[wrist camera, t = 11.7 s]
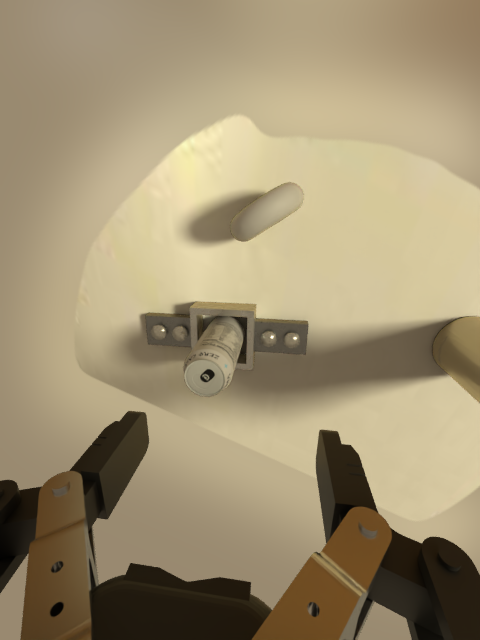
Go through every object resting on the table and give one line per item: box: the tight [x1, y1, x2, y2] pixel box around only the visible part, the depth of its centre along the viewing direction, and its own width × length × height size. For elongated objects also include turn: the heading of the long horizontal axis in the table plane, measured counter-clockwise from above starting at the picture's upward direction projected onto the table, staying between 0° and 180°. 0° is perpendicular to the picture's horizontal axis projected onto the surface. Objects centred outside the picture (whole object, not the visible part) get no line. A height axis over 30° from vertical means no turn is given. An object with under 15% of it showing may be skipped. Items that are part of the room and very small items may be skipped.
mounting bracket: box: [145, 302, 308, 370], centre depth 46 cm, size 26×10×4 cm, turn 89°
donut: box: [230, 182, 304, 242], centre depth 37 cm, size 10×4×10 cm, turn 122°
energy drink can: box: [184, 316, 244, 397], centre depth 41 cm, size 6×6×15 cm
